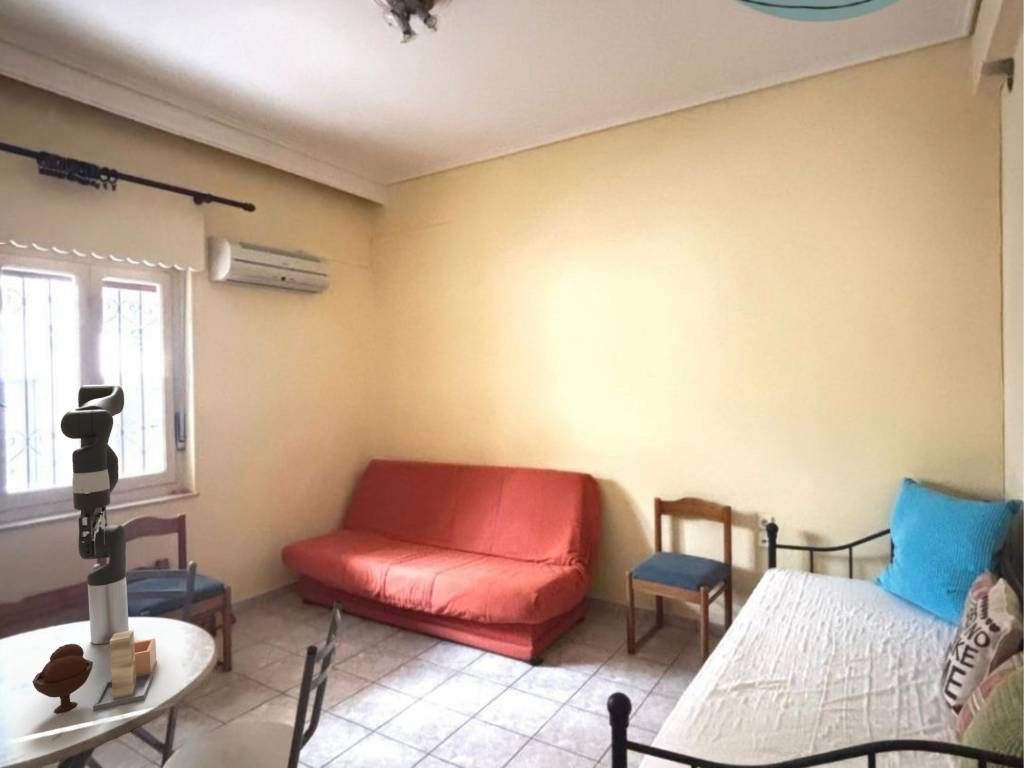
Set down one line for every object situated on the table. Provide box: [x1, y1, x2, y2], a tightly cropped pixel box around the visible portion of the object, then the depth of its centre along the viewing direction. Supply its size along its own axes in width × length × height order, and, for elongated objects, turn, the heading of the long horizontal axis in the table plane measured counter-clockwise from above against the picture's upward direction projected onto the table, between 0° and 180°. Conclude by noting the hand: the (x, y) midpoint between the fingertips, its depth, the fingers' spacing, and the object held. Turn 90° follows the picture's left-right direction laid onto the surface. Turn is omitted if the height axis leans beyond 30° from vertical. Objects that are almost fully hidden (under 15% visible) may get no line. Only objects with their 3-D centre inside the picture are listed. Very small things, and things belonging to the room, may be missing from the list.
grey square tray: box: [92, 671, 154, 712], centre depth 137 cm, size 11×10×2 cm
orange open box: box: [134, 638, 158, 675], centre depth 147 cm, size 8×8×7 cm
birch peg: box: [109, 630, 136, 698], centre depth 137 cm, size 4×4×14 cm
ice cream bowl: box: [31, 643, 94, 715], centre depth 132 cm, size 11×11×15 cm
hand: (95, 551), depth 145 cm, fingers open, 8 cm apart
